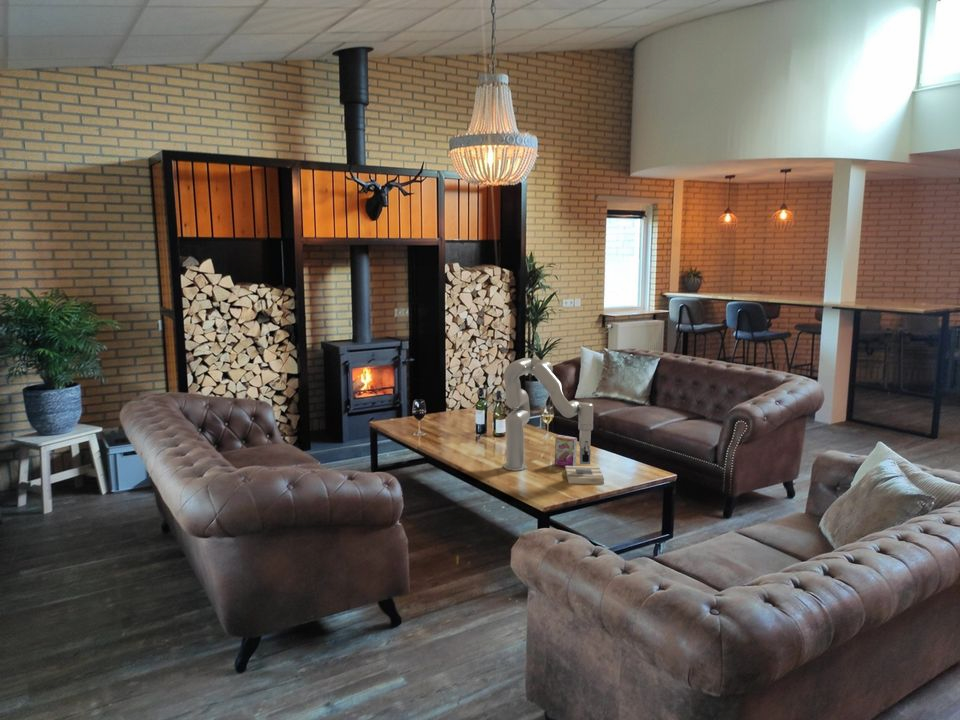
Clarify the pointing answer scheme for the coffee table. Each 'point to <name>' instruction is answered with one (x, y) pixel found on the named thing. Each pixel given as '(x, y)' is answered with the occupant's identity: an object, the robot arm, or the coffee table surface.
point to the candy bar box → (565, 450)
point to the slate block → (582, 456)
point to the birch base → (584, 474)
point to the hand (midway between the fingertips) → (584, 459)
